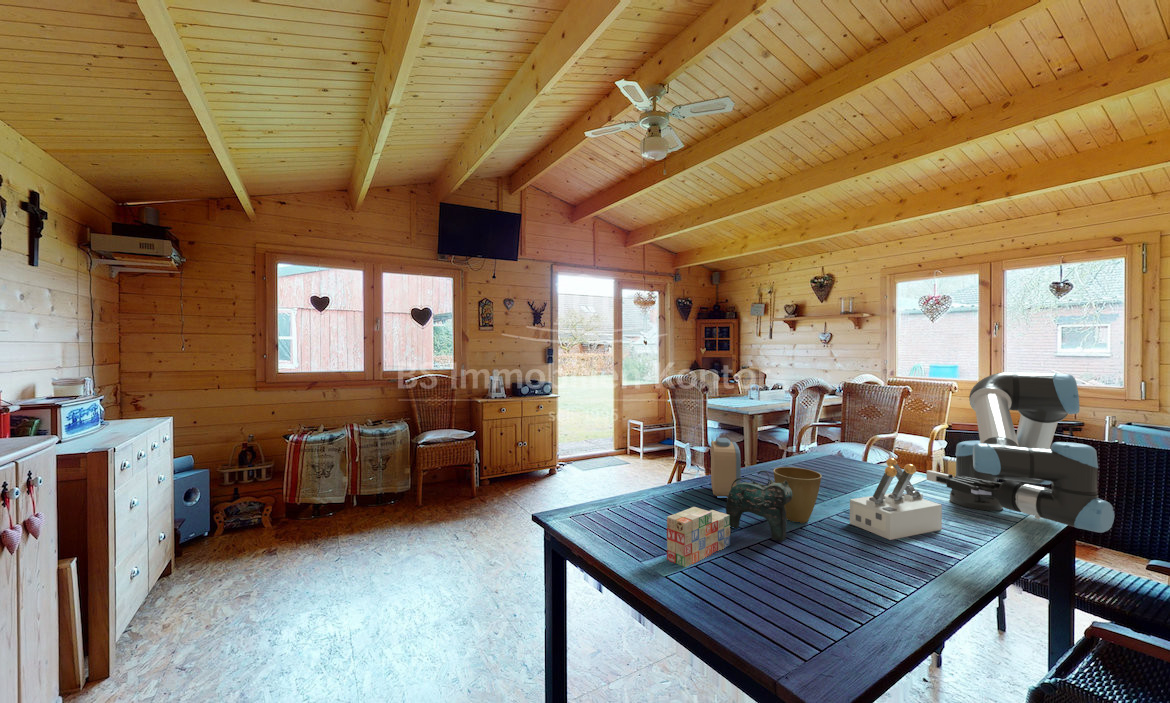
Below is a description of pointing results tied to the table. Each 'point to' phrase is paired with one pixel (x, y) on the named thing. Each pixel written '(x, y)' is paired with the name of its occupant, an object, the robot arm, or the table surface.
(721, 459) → the alarm clock
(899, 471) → the lever
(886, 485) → the lever
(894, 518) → the switch box
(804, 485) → the plant pot
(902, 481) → the lever middle
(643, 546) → the table surface
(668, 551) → the stack of blocks
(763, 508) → the ceramic cat
